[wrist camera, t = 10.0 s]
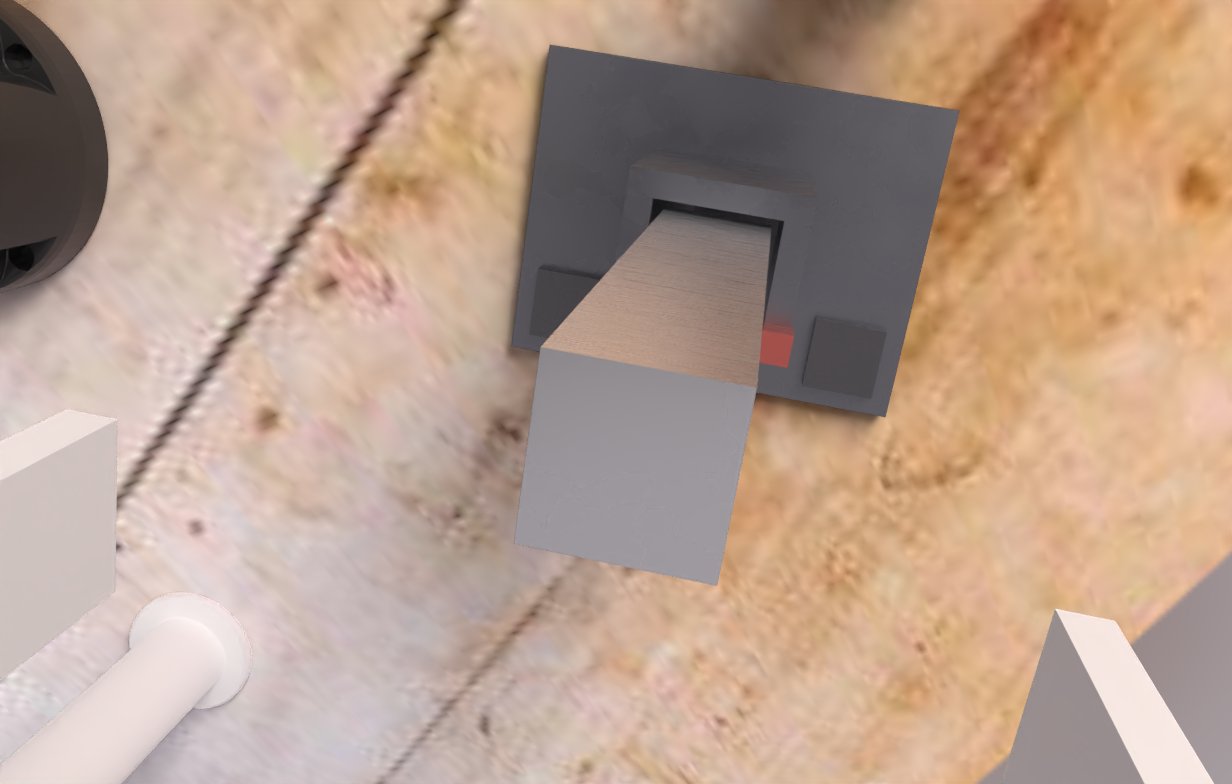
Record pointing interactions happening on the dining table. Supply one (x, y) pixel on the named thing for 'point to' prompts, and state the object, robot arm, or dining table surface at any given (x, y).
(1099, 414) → the dining table surface
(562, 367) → the column
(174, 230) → the dining table surface
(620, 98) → the housing
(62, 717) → the candle
